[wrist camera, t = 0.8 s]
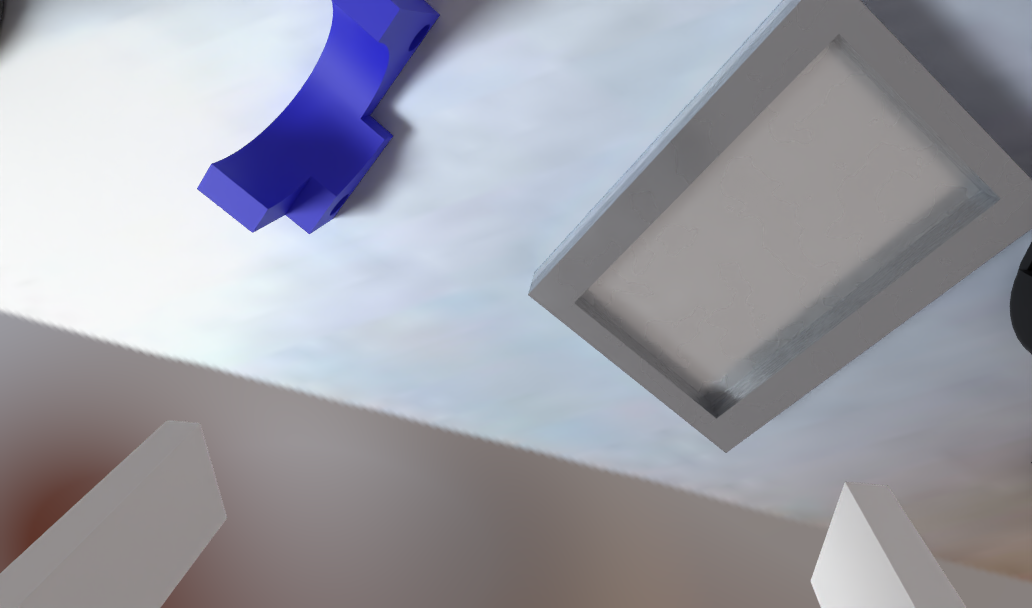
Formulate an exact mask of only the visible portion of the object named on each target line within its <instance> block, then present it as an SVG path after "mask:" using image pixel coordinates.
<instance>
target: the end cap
mask: <svg viewBox="0 0 1032 608" xmlns="http://www.w3.org/2000/svg"><path fill="white" fill-rule="evenodd" d="M1010 317H1011V321H1012V326H1013V329H1014V331H1015V333H1016V336H1017V338H1018V339H1019V341H1020V342H1021V344H1022V345H1023V347H1024V348H1025V349H1026V350H1028V351H1029V352H1030V353H1031V354H1032V242H1031V244H1030V246H1029V248H1028V250H1027V252H1026V254H1025V256H1024V258H1023V260H1022V262H1021V264H1020V267H1019V270H1018V273H1017V276H1016V278H1015V281H1014V284H1013V288H1012V292H1011V299H1010Z"/></svg>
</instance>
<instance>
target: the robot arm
mask: <svg viewBox="0 0 1032 608" xmlns="http://www.w3.org/2000/svg"><path fill="white" fill-rule="evenodd" d="M2 10H3V0H0V21H1V17H2ZM226 519H227V516H226V512H225V509H224V505H223V502H222V499H221V495H220V491H219V487H218V484H217V480H216V477H215V473H214V470H213V467H212V463H211V459H210V456H209V452H208V448H207V445H206V441H205V438H204V435H203V431H202V427H201V424H200V423H191V422H181V421H170V420H167V421H166V422H165V423H163V424H162V425H161V426H160V427H159V428H158V429H157V430H156V431H155V432H154V433H153V434H152V435H151V436H149V437H148V438H147V439H146V440H145V441H144V442H143V443H142V444H141V445H140V446H138V448H136V449H135V450H134V451H133V452H132V453H131V454H130V455H129V456H128V457H126V458H125V460H123V461H122V462H121V463H120V464H119V465H118V466H117V467H116V468H115V469H113V470H112V471H111V472H110V473H109V474H108V475H107V476H106V477H105V478H104V479H103V480H102V481H100V482H99V483H98V484H97V485H96V486H95V487H94V488H93V489H92V490H91V491H90V492H89V493H87V494H86V495H85V496H84V497H83V498H82V499H81V500H80V501H79V502H78V503H76V504H75V505H74V506H73V507H72V508H71V509H70V510H69V511H68V512H67V513H66V514H65V515H64V516H62V518H60V519H59V520H58V521H57V522H56V523H55V524H54V525H53V526H52V527H50V528H49V529H48V530H47V531H46V532H45V533H44V534H43V535H42V536H41V537H40V538H38V539H37V540H36V541H35V542H34V543H33V544H32V545H31V546H30V547H29V548H28V549H26V550H25V551H24V552H23V553H22V554H21V555H20V556H19V557H18V558H17V559H16V560H14V561H13V562H12V563H11V564H10V565H9V566H8V567H7V568H6V569H5V570H4V571H3V572H1V573H0V608H160V607H161V606H162V604H163V603H164V602H165V601H166V599H167V597H168V596H169V595H170V594H171V592H172V591H173V590H174V588H175V587H176V586H177V584H178V583H179V582H180V580H181V579H182V578H183V576H184V575H185V574H186V572H187V571H188V570H189V568H190V567H191V566H192V564H193V563H194V562H195V560H196V559H197V558H198V556H199V555H200V554H201V552H202V551H203V550H204V548H205V547H206V546H207V544H208V543H209V542H210V540H211V539H212V538H213V536H214V535H215V534H216V532H217V531H218V530H219V528H220V527H221V525H222V524H223V523H224V521H225V520H226ZM811 583H812V586H813V588H814V591H815V594H816V596H817V599H818V601H819V604H820V606H821V608H967V607H966V606H965V604H964V603H963V601H962V600H961V598H960V597H959V595H958V594H957V592H956V590H955V589H954V587H953V586H952V584H951V583H950V581H949V580H948V578H947V577H946V575H945V573H944V572H943V570H942V569H941V567H940V566H939V565H938V563H937V561H936V559H935V558H934V556H933V555H932V553H931V552H930V550H929V549H928V547H927V546H926V544H925V542H924V541H923V539H922V538H921V536H920V535H919V533H918V532H917V530H916V529H915V527H914V525H913V524H912V522H911V521H910V519H909V518H908V516H907V515H906V513H905V512H904V510H903V508H902V507H901V505H900V504H899V502H898V501H897V499H896V498H895V496H894V495H893V493H892V491H891V490H890V488H889V487H888V486H887V485H876V484H864V483H853V482H845V483H844V486H843V489H842V492H841V495H840V498H839V501H838V504H837V507H836V509H835V512H834V515H833V518H832V521H831V524H830V527H829V530H828V533H827V535H826V538H825V542H824V544H823V547H822V550H821V553H820V556H819V559H818V561H817V564H816V567H815V571H814V573H813V576H812V579H811Z"/></svg>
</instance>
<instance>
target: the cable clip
mask: <svg viewBox="0 0 1032 608" xmlns="http://www.w3.org/2000/svg"><path fill="white" fill-rule="evenodd" d="M332 4H333V20H332V26H331V30H330V34H329V37H328V40H327V43H326V45H325V48H324V50H323V52H322V54H321V56H320V58H319V60H318V62H317V64H316V66H315V68H314V70H313V71H312V73H311V75H310V76H309V78H308V79H307V81H306V82H305V84H304V85H303V87H302V88H301V90H300V91H299V92H298V94H297V95H296V96H295V98H294V99H293V100H292V101H291V103H290V104H289V105H288V106H287V107H286V108H285V110H284V111H283V112H282V113H281V114H280V115H279V116H278V117H277V118H276V119H275V120H274V121H273V122H272V123H271V124H270V125H269V126H268V127H267V128H266V129H265V130H264V131H263V132H262V133H261V134H260V135H258V136H257V137H256V138H255V139H254V140H252V141H251V142H250V143H248V144H247V145H246V146H244V147H243V148H241V149H240V150H238V151H237V152H235V153H234V154H232V155H230V156H228V157H226V158H224V159H222V160H220V161H218V162H215V163H212V164H211V165H210V167H209V169H208V171H207V172H206V174H205V176H204V178H203V179H202V181H201V183H200V184H199V186H198V188H197V189H198V190H199V191H200V192H202V193H203V194H204V195H205V196H207V197H208V198H209V199H210V200H212V201H213V202H214V203H215V204H217V205H218V206H219V207H221V208H222V209H223V210H224V211H226V212H227V213H228V214H229V215H231V216H232V217H233V218H234V219H236V220H237V221H238V222H240V223H241V224H242V225H243V226H245V227H246V228H247V229H248V230H250V231H251V232H252V233H253V232H255V231H257V230H258V229H260V228H262V227H264V226H266V225H268V224H269V223H271V222H273V221H275V220H277V219H278V218H280V217H282V216H284V215H286V216H287V217H289V218H290V219H291V220H292V221H294V222H295V223H296V224H297V225H299V226H300V227H301V228H302V229H304V230H305V231H306V232H307V233H308V234H311V233H312V232H314V231H315V230H317V229H318V228H320V227H321V226H323V225H324V224H326V223H327V222H329V221H330V220H332V219H333V218H334V217H335V215H336V214H337V212H338V211H339V210H340V208H341V207H342V206H343V204H344V203H345V201H346V200H347V199H348V197H349V196H350V195H351V193H352V192H353V191H354V189H355V188H356V186H357V185H358V184H359V182H360V181H361V180H362V178H363V177H364V175H365V174H366V173H367V171H368V170H369V169H370V167H371V166H372V165H373V163H374V162H375V160H376V159H377V158H378V156H379V155H380V154H381V152H382V151H383V149H384V148H385V147H386V145H387V144H388V143H389V141H390V140H391V138H392V137H393V135H392V134H391V133H390V132H388V131H387V130H386V129H385V128H384V127H383V126H382V125H380V124H379V123H378V122H377V121H376V120H375V119H374V118H372V117H371V116H370V115H371V114H372V112H373V111H374V109H375V108H376V106H377V105H378V104H379V102H380V101H381V99H382V98H383V96H384V95H385V94H386V92H387V91H388V89H389V88H390V86H391V85H392V83H393V82H394V81H395V79H396V78H397V76H398V75H399V73H400V72H401V71H402V69H403V68H404V66H405V65H406V63H407V62H408V60H409V59H410V58H411V56H412V55H413V53H414V52H415V50H416V49H417V48H418V46H419V45H420V43H421V42H422V40H423V39H424V38H425V36H426V35H427V33H428V32H429V30H430V29H431V27H432V26H433V25H434V23H435V22H436V20H437V19H438V17H439V16H440V14H438V13H437V12H436V11H435V10H434V9H433V8H432V7H431V6H430V5H429V4H428V3H427V2H426V1H425V0H332Z"/></svg>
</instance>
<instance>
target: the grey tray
mask: <svg viewBox="0 0 1032 608" xmlns="http://www.w3.org/2000/svg"><path fill="white" fill-rule="evenodd" d="M1030 229H1032V179H1031V178H1030V177H1029V176H1028V175H1027V174H1026V173H1025V172H1024V171H1023V170H1022V169H1021V168H1020V167H1019V166H1018V165H1017V164H1016V163H1015V162H1014V161H1013V160H1012V159H1011V157H1010V156H1009V155H1008V154H1007V153H1006V152H1005V151H1004V150H1003V149H1002V148H1001V147H1000V146H999V145H998V144H997V143H996V142H995V141H994V140H993V139H992V138H991V137H990V136H989V134H988V133H987V132H986V131H985V130H984V129H983V128H982V127H981V126H980V125H979V124H978V123H977V122H976V121H975V120H974V119H973V118H972V117H971V116H970V115H969V114H968V112H967V111H966V110H965V109H964V108H963V107H962V106H961V105H960V104H959V103H958V102H957V101H956V100H955V99H954V98H953V97H952V96H951V95H950V94H949V93H948V92H947V91H946V89H945V88H944V87H943V86H942V85H941V84H940V83H939V82H938V81H937V80H936V79H935V78H934V77H933V76H932V75H931V74H930V73H929V72H928V71H927V70H926V69H925V68H924V66H923V65H922V64H921V63H920V62H919V61H918V60H917V59H916V58H915V57H914V56H913V55H912V54H911V53H910V52H909V51H908V50H907V49H906V48H905V47H904V46H903V45H902V43H901V42H900V41H899V40H898V39H897V38H896V37H895V36H894V35H893V34H892V33H891V32H890V31H889V30H888V29H887V28H886V27H885V26H884V25H883V24H882V23H881V22H880V20H879V19H878V18H877V17H876V16H875V15H874V14H873V13H872V12H871V11H870V10H869V9H868V8H867V7H866V6H865V5H864V4H863V3H862V2H861V1H860V0H783V1H782V2H781V3H780V4H779V6H778V7H777V8H776V9H775V10H774V11H773V12H772V13H771V14H770V15H769V16H768V18H767V19H766V20H765V21H764V22H763V23H762V24H761V25H760V26H759V27H758V28H757V30H756V31H755V32H754V33H753V34H752V35H751V36H750V37H749V38H748V39H747V41H746V42H745V43H744V44H743V45H742V46H741V47H740V48H739V49H738V50H737V51H736V53H735V54H734V55H733V56H732V57H731V58H730V59H729V60H728V61H727V62H726V64H725V65H724V66H723V67H722V68H721V69H720V70H719V71H718V72H717V73H716V74H715V76H714V77H713V78H712V79H711V80H710V81H709V82H708V83H707V84H706V85H705V87H704V88H703V89H702V90H701V91H700V92H699V93H698V94H697V95H696V96H695V97H694V99H693V100H692V101H691V102H690V103H689V104H688V105H687V106H686V107H685V108H684V110H683V111H682V112H681V113H680V114H679V115H678V116H677V117H676V118H675V119H674V120H673V122H672V123H671V124H670V125H669V126H668V127H667V128H666V129H665V130H664V131H663V133H662V134H661V135H660V136H659V137H658V138H657V139H656V140H655V141H654V142H653V143H652V145H651V146H650V147H649V148H648V149H647V150H646V151H645V152H644V153H643V154H642V156H641V157H640V158H639V159H638V160H637V161H636V162H635V163H634V164H633V165H632V166H631V168H630V169H629V170H628V171H627V172H626V173H625V174H624V175H623V176H622V177H621V179H620V180H619V181H618V182H617V183H616V184H615V185H614V186H613V187H612V188H611V189H610V191H609V192H608V193H607V194H606V195H605V196H604V197H603V198H602V199H601V200H600V202H599V203H598V204H597V205H596V206H595V207H594V208H593V209H592V210H591V211H590V212H589V214H588V215H587V216H586V217H585V218H584V219H583V220H582V221H581V222H580V223H579V225H578V226H577V227H576V228H575V229H574V230H573V231H572V232H571V233H570V234H569V235H568V237H567V238H566V239H565V240H564V241H563V242H562V243H561V244H560V245H559V246H558V248H557V249H556V250H555V251H554V252H553V253H552V254H551V255H550V256H549V257H548V258H547V260H546V261H545V262H544V263H543V264H542V265H541V266H540V267H539V268H538V269H537V271H536V272H535V273H534V276H533V279H532V283H531V286H530V290H529V293H528V295H529V296H530V297H531V298H533V299H534V300H535V301H536V302H538V303H539V304H540V305H541V306H543V307H544V308H545V309H546V310H548V311H549V312H550V313H551V314H553V315H554V316H555V317H556V318H558V319H559V320H560V321H561V322H563V323H564V324H565V325H566V326H568V327H569V328H570V329H571V330H573V331H574V332H575V333H576V334H578V335H579V336H580V337H582V338H583V339H584V340H585V341H587V342H588V343H589V344H590V345H592V346H593V347H594V348H595V349H597V350H598V351H599V352H600V353H602V354H603V355H604V356H605V357H607V358H608V359H609V360H610V361H612V362H613V363H614V364H615V365H617V366H618V367H619V368H620V369H622V370H623V371H624V372H625V373H627V374H628V375H629V376H630V377H632V378H633V379H634V380H635V381H637V382H638V383H639V384H640V385H642V386H643V387H644V388H645V389H647V390H648V391H649V392H650V393H652V394H653V395H654V396H655V397H657V398H658V399H659V400H660V401H662V402H663V403H664V404H665V405H667V406H668V407H669V408H670V409H672V410H673V411H674V412H675V413H677V414H678V415H679V416H680V417H682V418H683V419H684V420H685V421H687V422H688V423H689V424H690V425H692V426H693V427H694V428H695V429H697V430H698V431H699V432H700V433H702V434H703V435H704V436H705V437H707V438H708V439H709V440H710V441H712V442H713V443H714V444H715V445H717V446H718V447H719V448H720V449H722V450H723V451H724V452H725V453H727V452H728V451H729V450H731V449H732V448H733V447H735V446H736V445H738V444H739V443H740V442H742V441H743V440H744V439H746V438H747V437H748V436H750V435H751V434H753V433H754V432H755V431H757V430H758V429H759V428H761V427H762V426H763V425H765V424H766V423H767V422H769V421H770V420H772V419H773V418H774V417H776V416H777V415H778V414H780V413H781V412H782V411H784V410H785V409H787V408H788V407H789V406H791V405H792V404H793V403H795V402H796V401H797V400H799V399H800V398H802V397H803V396H804V395H806V394H807V393H808V392H810V391H811V390H812V389H814V388H815V387H817V386H818V385H819V384H821V383H822V382H823V381H825V380H826V379H827V378H829V377H830V376H832V375H833V374H834V373H836V372H837V371H838V370H840V369H841V368H842V367H844V366H845V365H846V364H848V363H849V362H851V361H852V360H853V359H855V358H856V357H857V356H859V355H860V354H861V353H863V352H864V351H866V350H867V349H868V348H870V347H871V346H872V345H874V344H875V343H876V342H878V341H879V340H881V339H882V338H883V337H885V336H886V335H887V334H889V333H890V332H891V331H893V330H894V329H896V328H897V327H898V326H900V325H901V324H902V323H904V322H905V321H906V320H908V319H909V318H911V317H912V316H913V315H915V314H916V313H917V312H919V311H920V310H921V309H923V308H924V307H925V306H927V305H928V304H930V303H931V302H932V301H934V300H935V299H936V298H938V297H939V296H940V295H942V294H943V293H945V292H946V291H947V290H949V289H950V288H951V287H953V286H954V285H955V284H957V283H958V282H960V281H961V280H962V279H964V278H965V277H966V276H968V275H969V274H970V273H972V272H973V271H975V270H976V269H977V268H979V267H980V266H981V265H983V264H984V263H985V262H987V261H988V260H990V259H991V258H992V257H994V256H995V255H996V254H998V253H999V252H1000V251H1002V250H1003V249H1004V248H1006V247H1007V246H1009V245H1010V244H1011V243H1013V242H1014V241H1015V240H1017V239H1018V238H1019V237H1021V236H1022V235H1024V234H1025V233H1026V232H1028V231H1029V230H1030Z"/></svg>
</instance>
